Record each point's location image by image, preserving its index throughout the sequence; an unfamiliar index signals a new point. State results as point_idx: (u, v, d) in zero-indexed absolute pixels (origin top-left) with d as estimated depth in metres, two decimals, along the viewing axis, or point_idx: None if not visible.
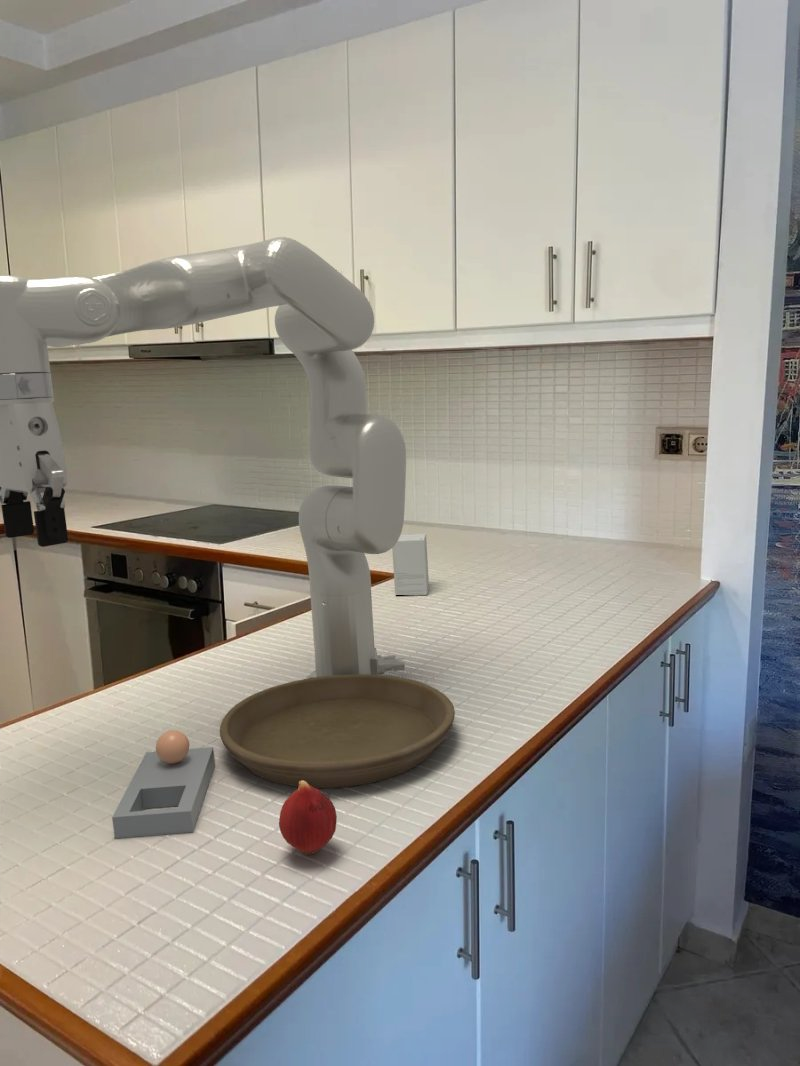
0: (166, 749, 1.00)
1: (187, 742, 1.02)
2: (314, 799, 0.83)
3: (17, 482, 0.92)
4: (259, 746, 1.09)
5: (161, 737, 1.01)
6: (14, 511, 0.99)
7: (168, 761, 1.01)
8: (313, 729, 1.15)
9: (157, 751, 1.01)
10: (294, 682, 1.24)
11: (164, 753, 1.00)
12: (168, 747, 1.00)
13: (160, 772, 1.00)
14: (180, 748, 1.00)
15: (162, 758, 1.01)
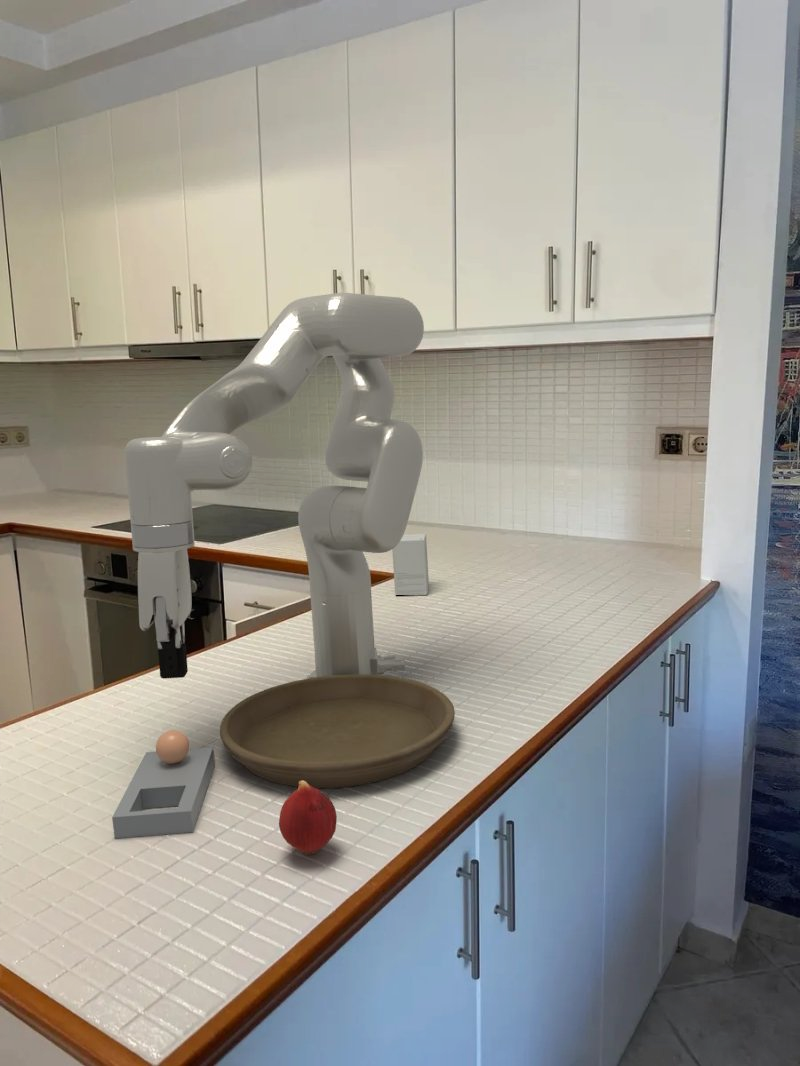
0: (166, 749, 1.00)
1: (187, 742, 1.02)
2: (313, 799, 0.83)
3: (189, 608, 1.09)
4: (259, 746, 1.09)
5: (161, 737, 1.01)
6: None
7: (168, 761, 1.01)
8: (313, 729, 1.15)
9: (157, 751, 1.01)
10: (294, 682, 1.24)
11: (164, 753, 1.00)
12: (168, 747, 1.00)
13: (160, 772, 1.00)
14: (180, 748, 1.00)
15: (162, 758, 1.01)
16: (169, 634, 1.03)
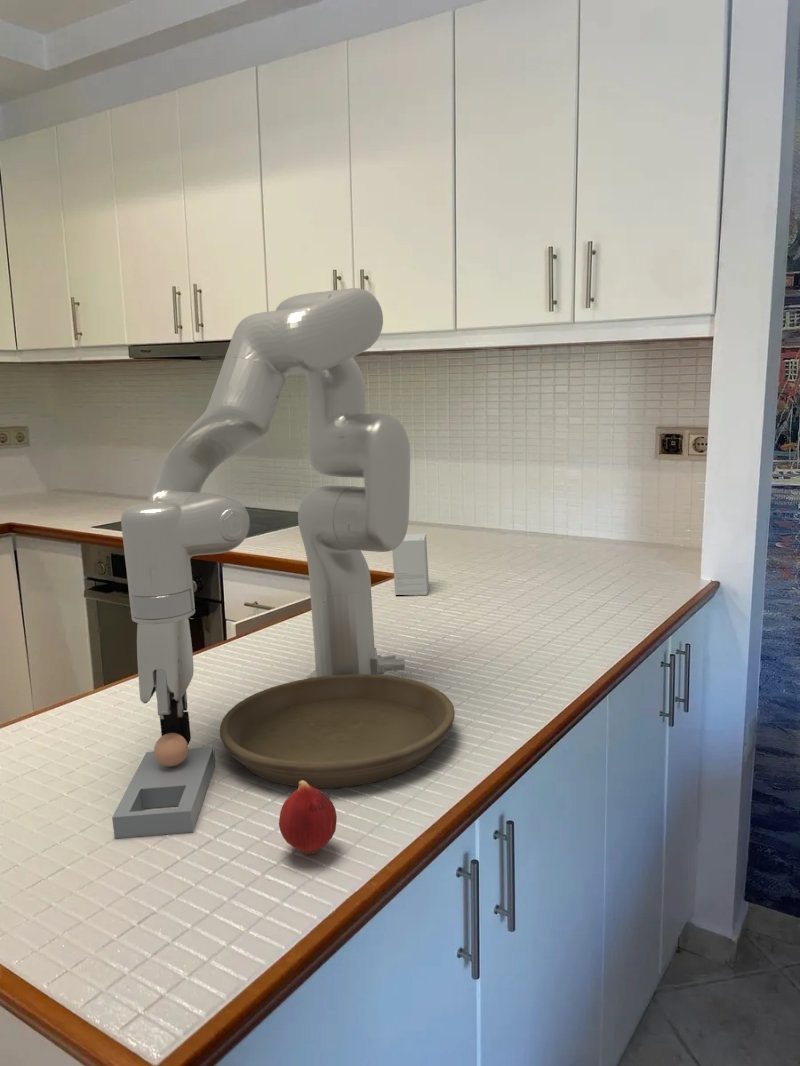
0: (164, 753, 0.99)
1: (186, 745, 1.01)
2: (313, 799, 0.83)
3: (191, 674, 1.06)
4: (259, 746, 1.09)
5: (159, 740, 1.00)
6: None
7: (167, 764, 1.00)
8: (313, 729, 1.15)
9: (155, 755, 1.00)
10: (294, 682, 1.24)
11: (163, 757, 0.99)
12: (167, 751, 0.99)
13: (160, 772, 1.00)
14: (178, 752, 1.00)
15: (161, 762, 1.00)
16: (171, 706, 1.00)
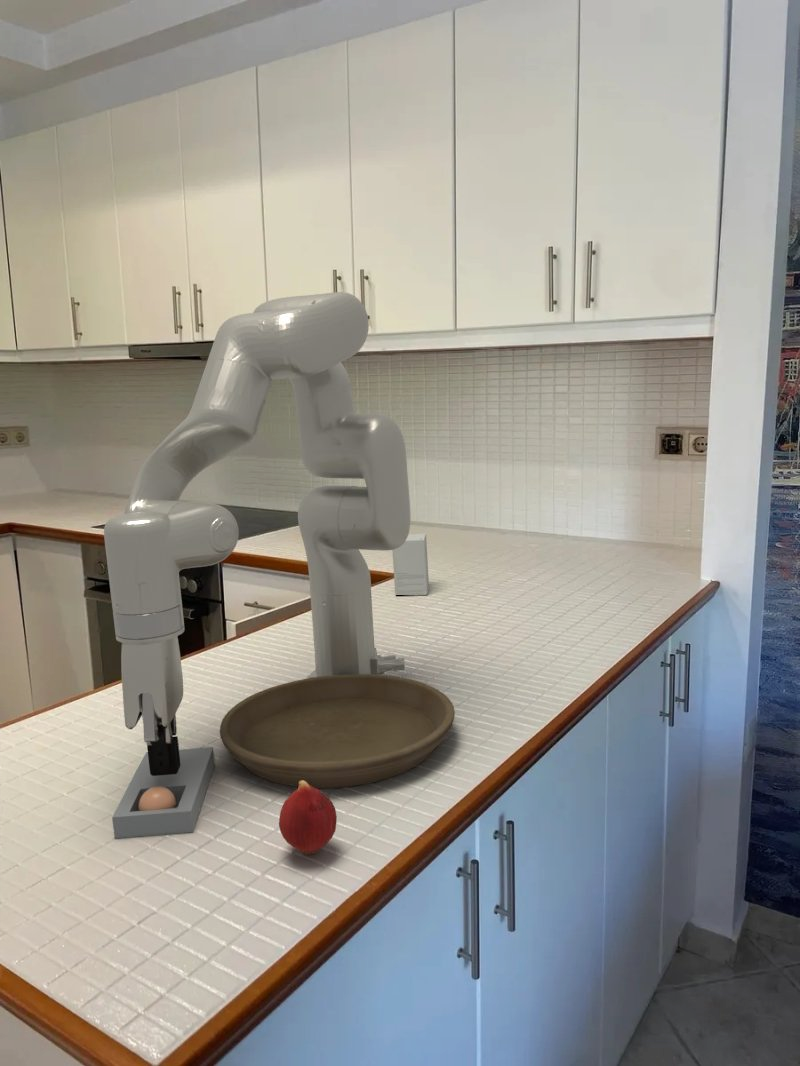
0: None
1: None
2: (313, 799, 0.83)
3: (180, 696, 0.99)
4: (259, 746, 1.09)
5: None
6: None
7: None
8: (313, 729, 1.14)
9: None
10: (294, 682, 1.24)
11: None
12: None
13: None
14: None
15: None
16: (158, 731, 0.93)
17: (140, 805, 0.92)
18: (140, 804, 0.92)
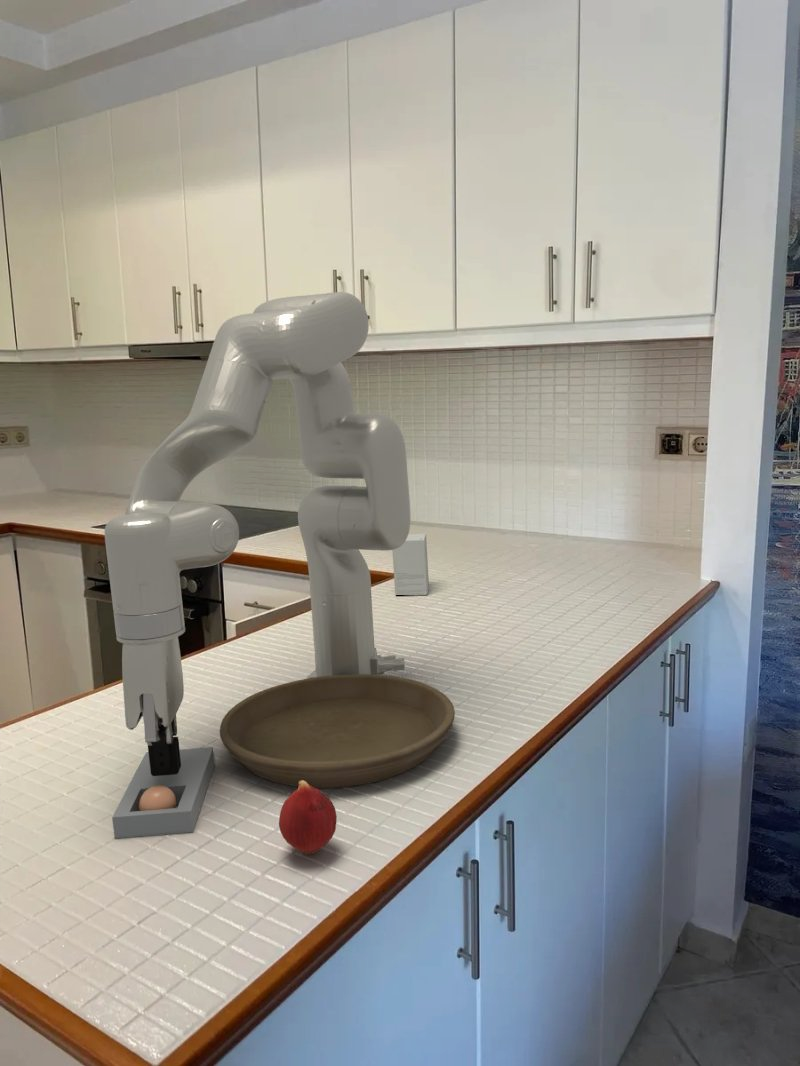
0: None
1: (175, 807, 0.93)
2: (313, 799, 0.83)
3: (181, 696, 0.99)
4: (259, 746, 1.09)
5: None
6: None
7: None
8: (313, 729, 1.15)
9: None
10: (294, 682, 1.24)
11: None
12: None
13: None
14: None
15: None
16: (159, 732, 0.93)
17: (141, 802, 0.92)
18: (141, 801, 0.92)
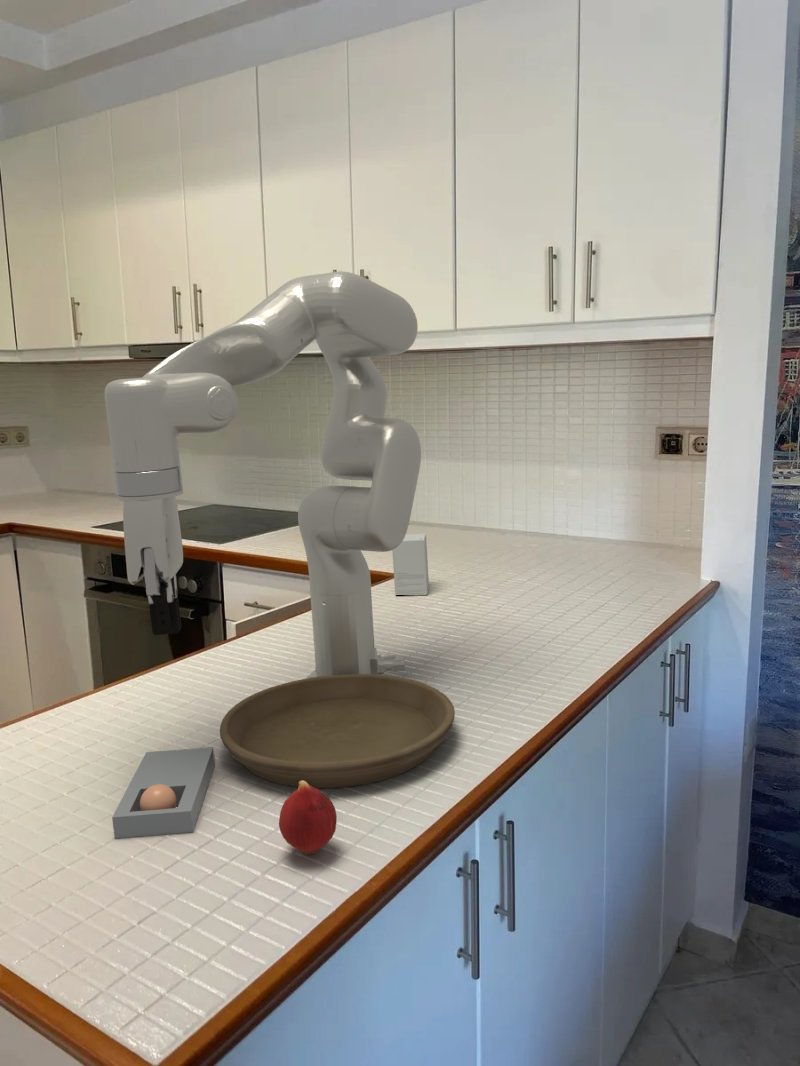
0: None
1: (175, 807, 0.94)
2: (313, 799, 0.83)
3: (180, 560, 1.03)
4: (259, 746, 1.09)
5: None
6: None
7: None
8: (313, 729, 1.14)
9: None
10: (294, 682, 1.24)
11: None
12: None
13: (160, 772, 1.00)
14: None
15: None
16: (160, 587, 0.97)
17: (141, 800, 0.92)
18: (141, 799, 0.92)
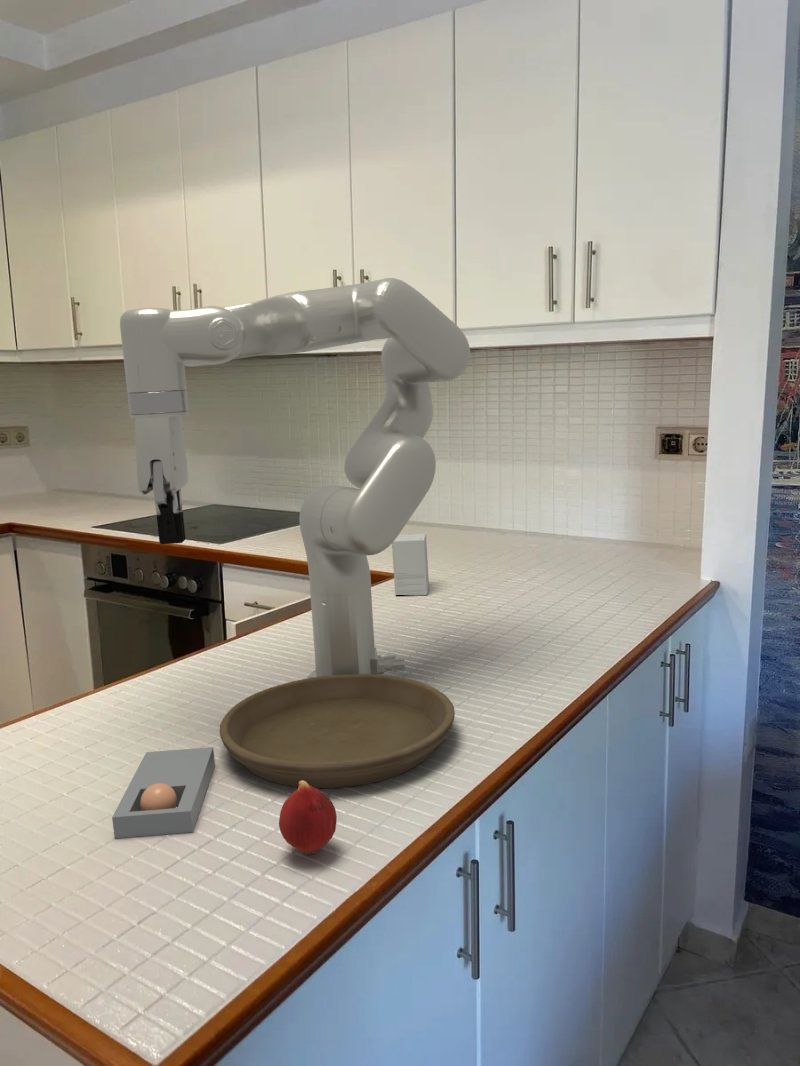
0: None
1: (175, 806, 0.94)
2: (313, 799, 0.83)
3: (185, 478, 1.14)
4: (259, 746, 1.09)
5: None
6: None
7: None
8: (313, 729, 1.15)
9: None
10: (294, 682, 1.24)
11: None
12: None
13: (160, 772, 1.00)
14: None
15: None
16: (167, 498, 1.08)
17: (142, 797, 0.93)
18: (142, 796, 0.93)
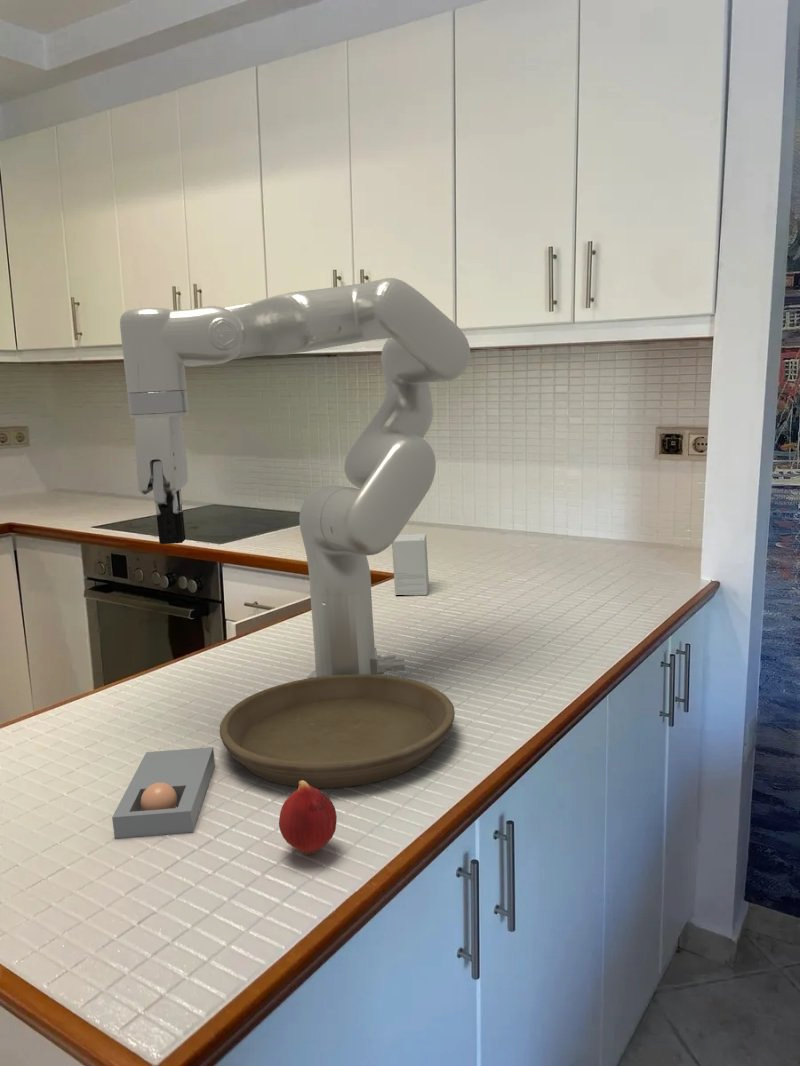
0: None
1: (175, 805, 0.94)
2: (313, 799, 0.83)
3: (185, 478, 1.14)
4: (259, 746, 1.09)
5: None
6: None
7: None
8: (313, 729, 1.15)
9: None
10: (294, 682, 1.24)
11: None
12: None
13: (160, 772, 1.00)
14: None
15: None
16: (167, 498, 1.08)
17: (143, 796, 0.93)
18: (142, 795, 0.93)
